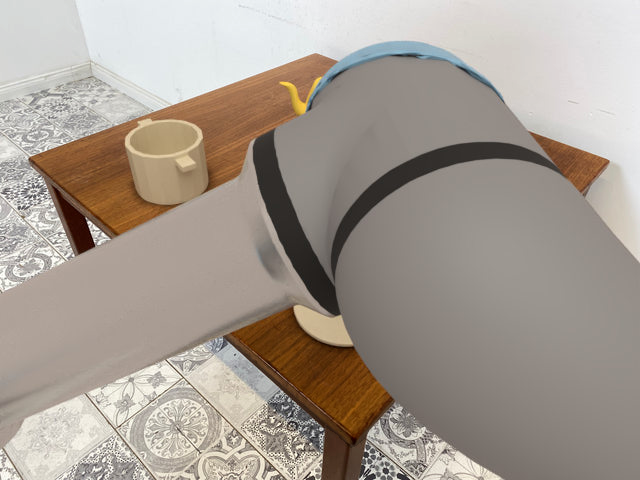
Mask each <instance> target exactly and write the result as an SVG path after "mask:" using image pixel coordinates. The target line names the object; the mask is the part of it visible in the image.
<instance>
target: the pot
mask: <svg viewBox="0 0 640 480" xmlns="http://www.w3.org/2000/svg"><path fill="white" fill-rule="evenodd" d="M124 147H125V152H126V155H127V159H128V163H129V167H130V171H131V175H132V179H133V183H134V188H135V190H136V193H137V194H138V196H139V197H141V199H143V200H144V201H145V202H148V203H150V204H151V203H152V204H155V205H161V206H162V205H163V206H169V205H170V206H171V205H181V204H183V203H185V202H188V201H190V200H192V199H194V198H196V197H198V196H200V195H202V194H204V193H205V191H206V190H207V188H208V186H209V173H208V166H207V165H208V163H207V159H206V158H207V157H206V150H205V142H204V136H203V131H202V129H201V128H200V127H198V125H196V124H195V123H192V122H189V121H186V120H183V119H182V120H181V119H180V120H179V119H172V118H171V119H170V118H169V119H160V120H159V119H158V120H152V119H151V118H150V117H149V118H145V119H142V120H138V121H137V127H135V128H134V129H132V130H130V131H129V132H128V134H127V135H126V136H125V138H124Z"/></svg>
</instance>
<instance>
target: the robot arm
mask: <svg viewBox="0 0 640 480" xmlns="http://www.w3.org/2000/svg"><path fill="white" fill-rule="evenodd" d="M321 77H322V78H321V79H320V81H319V82H318V84H317V85H316V87H315V89H314V91H313V93H312V94H311V96H310V98H309V100H308V103H307V107H306V111H305V113H304V114H302V115H300V116H296V117H294V118H292V119H290V120H288V121H286V122H284V123H282V124H280V125H278V126H277V127H275V128H273V129H271V130H269V131H267V132H265V133H263V134H261V135H259V136H257V137H255V138H253V139H252V140H250V142H249V144H248V148H247V151H246V154H245V157H244V160H243V164H242V168H241V170H240V172H239V174H238V175H237V176H236V177H235V178H232V179H230V180H228V181H226V182H224V183H222V184H220V185H218V186H216V187H214V188H212V189H209V190H208V191H206V192H203V193H202V194H201V195H199V196H198V197H196V198H194V199H192V200H190V201H187V202H184V203H180V204H178V205H177V206H176V207H173V208H171V209H169V210H167V211H165V212H163V213H161V214H159V215H157V216H154V217H153V218H150V219H148V220H147V221H144V222H142V223H141V224H139V225H136V226H134V227H133V228H130V229H129V230H127V231H125V232H123V233H119V234H118V235H117V236H114V237H112V238H111V239H108V240H106V241H104V242H103V243H100V244H98V245H96V246H94V247H92V248H90V249H88V250H85V251H84V252H81V253H79V254H78V255H76V256H73V257H71V258H69V259H67V260H65V261H64V262H62V263H59V264H58V265H55V266H53V267H51V268H50V269H47V270H45V271H43V272H41V273H39V274H37V275H35V276H33V277H31V278H29V279H27V280H24V281H23V282H21V283H18V284H17V285H14V286H12V287H11V288H8V289H7V290H4V291H2V292H0V451H1V450H3V448H5V446H6V445H7V444H9V443H10V442H11V441H12V440H13V438H14V437H16V435H17V434H18V432H19V431H20V429H21V427H22V426H23V424H24V422H25V419H28V418H30V417H32V416H34V415H37V414H39V413H42V412H44V411H46V410H50V409H51V408H54V407H56V406H59V405H61V404H63V403H66V402H68V401H70V400H73V399H75V398H78V397H80V396H83V395H85V394H87V393H90V392H92V391H94V390H97V389H100V388H101V387H104V386H106V385H110V384H111V383H114V382H116V381H118V380H121V379H123V378H126V377H128V376H131V375H133V374H135V373H138V372H140V371H143V370H145V369H146V368H150V367H152V366H155V365H156V364H159V363H161V362H164V361H166V360H168V359H171V358H174V357H176V356H178V355H181V354H183V353H185V352H188V351H190V350H193V349H195V348H198V347H200V346H202V345H205V344H207V343H210V342H212V341H214V340H217V339H219V338H221V337H224V336H226V335H228V334H231V333H233V332H236V331H238V330H240V329H243V328H245V327H247V326H250V325H252V324H255V323H257V322H260V321H261V320H264V319H267V318H269V317H272V316H274V315H277V314H279V313H281V312H283V311H286V310H288V309H292V308H294V306H296V305H302V306H304V307H306V308H309V309H311V310H313V311H315V312H318V313H320V314H322V315H324V316H327V317H330V318H334V317H337V316H339V315H341V316H342V319H343V322H344V325H345V328H346V330H347V332H348V335H349V337H350V339H351V341H352V343H353V345H354V346H353V347H354V349H355V351H356V353H357V355H358V356H359V358H360V359H361V360H362V362H363V363H364V365H365V367H367V370H369V372H370V373H371V375H372V376H373V378H374V379H375V380H376V381H377V382H378V383H379V384H380V385H381V387H382V388H383V389H384V390H385V392H387V394H389V395H390V397H391V398H392V399H393V400H394V402H396V403H397V404H398V405H399V406H400V407H401V408H403V410H405V411H406V412H407V413H408V414H409V415H410V416H412V417H413V419H415V420H416V421H417V422H418V423H420V425H422V426H423V427H424V428H425V429H426V430H428V431H429V432H430V433H431V434H432V435H435V436H436V437H437V438H439V439H440V440H441V441H443V442H445V444H448V446H450V447H452V448H453V449H455V450H456V451H457V452H459V453H460V454H461V455H463V456H465V457H466V458H467V459H469V460H470V461H472V462H474V463H475V464H477V465H479V466H480V467H482V468H484V469H486V471H489V472H490V473H492V474H493V475H496V476H497V477H499V478H501V479H503V480H640V260H638V259H637V258H636V256H634V254H633V253H632V252H631V251H630V250H629V248H628V247H626V246H625V244H624V243H623V242H622V241H621V240H620V238H619V237H617V235H616V234H615V233H614V232H613V231H612V229H611V228H610V227H609V225H607V223H606V222H605V220H604V219H603V218H602V217H601V216H600V214H599V213H598V212H597V211H596V210H595V208H594V207H593V206H592V205H591V203H589V201H588V200H587V199H586V197H585V196H584V195H583V194H582V193H581V191H580V190H579V189H578V188H577V187H576V186H575V185H574V184H573V183H572V181H570V180H568V178H567V177H566V176H565V174H564V173H563V172H562V171H561V169H560V168H559V167H558V165H557V164H556V163H555V162H554V161H553V159H552V158H551V157H550V155H548V153H546V151H545V150H544V149H543V148H542V146H541V145H540V144H539V143H538V141H537V140H536V139H535V137H533V135H532V134H531V133H530V132H529V131H528V129H527V127H525V125H524V124H523V123H522V122H521V120H520V119H519V118H518V116H517V115H515V113H514V112H513V111H512V109H511V108H510V107H509V106H508V104H507V103H506V102H505V99H504V96H503V95H502V93H501V92H500V91H499V90H498V89H497V88H496V87H495V86H494V85H493V84H492V82H491V80H489V79H488V78H487V77H486V76H485V75H484V74H482V73H480V71H477V70H476V69H475V68H473V67H472V66H470V65H468V63H466V62H465V61H464V60H463V59H461V58H460V57H459V56H457V55H455V54H453V53H452V52H450V51H449V50H447V49H444V48H443V47H439V46H435V45H433V44H429V43H426V42H422V41H415V40H390V41H389V40H388V41H383V42H378V43H374V44H371V45H368V46H365V47H363V48H360V49H358V50H355V51H354V52H352V53H349V54H348V55H346V56H344V57H343V58H341V59H340V60H339V61H337V62H336V63H334V65H332V67H330V68H329V69H328V70H327V71H326V73H325V74H324V75H323V76H321Z"/></svg>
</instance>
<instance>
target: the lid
mask: <svg viewBox="0 0 640 480" xmlns="http://www.w3.org/2000/svg"><path fill="white" fill-rule="evenodd" d="M293 314H294V317H295V319H296V321H297V323H298V325H299V326H300V328H301V329H302V330H303V331H304V332H305V333H306V334H307V335H309V336H310V337H311V338H313V339H315V340H316V341H318V342H321V343H324V344H327V345H330V346H335V347H342V348H343V347H345V348H346V347H354V345H353V343H352V341H351V339H350V337H349V335H348V332H347V330H346V328H345V325H344V322H343V319H342V316H341V315H339V316H337V317H334V318H330V317H327V316H324V315H322V314H320V313H318V312H315V311H313V310H311V309H309V308H306V307H304V306H302V305H296V306H293Z"/></svg>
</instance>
